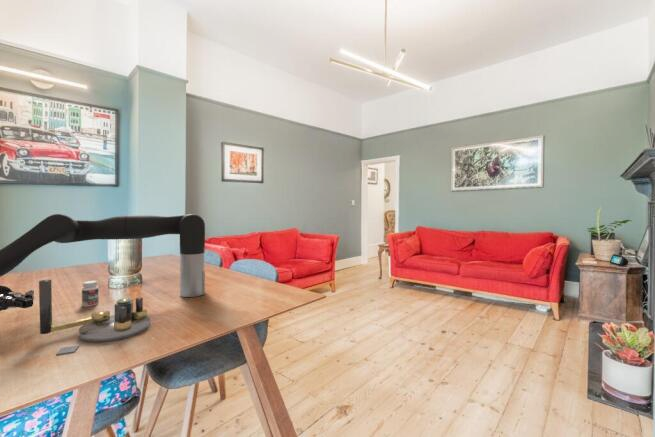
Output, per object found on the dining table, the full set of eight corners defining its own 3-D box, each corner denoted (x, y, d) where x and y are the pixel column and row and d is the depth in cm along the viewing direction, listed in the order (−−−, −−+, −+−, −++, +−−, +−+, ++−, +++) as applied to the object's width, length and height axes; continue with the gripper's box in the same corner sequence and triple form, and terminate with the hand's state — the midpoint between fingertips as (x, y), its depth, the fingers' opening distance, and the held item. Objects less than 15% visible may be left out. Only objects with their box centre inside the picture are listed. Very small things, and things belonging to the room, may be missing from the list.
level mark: (79, 346, 78) (79, 345, 78) (74, 352, 74) (74, 351, 74) (61, 348, 76) (61, 347, 76) (55, 355, 73) (55, 354, 73)
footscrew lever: (107, 315, 93) (106, 271, 92) (111, 319, 90) (111, 273, 89) (38, 331, 81) (37, 280, 80) (41, 336, 78) (40, 282, 77)
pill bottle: (89, 307, 107) (89, 284, 106) (78, 306, 108) (78, 283, 107) (101, 303, 111) (101, 280, 111) (91, 302, 112) (91, 280, 112)
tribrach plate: (152, 316, 99) (152, 289, 99) (146, 336, 84) (146, 305, 84) (88, 323, 92) (88, 295, 92) (69, 347, 77) (68, 314, 76)
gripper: (-48, 291, 79) (-3, 297, 75) (15, 279, 92) (56, 284, 88) (-47, 318, 80) (-3, 326, 75) (15, 303, 92) (57, 309, 88)
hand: (29, 303), depth 82 cm, fingers closed
